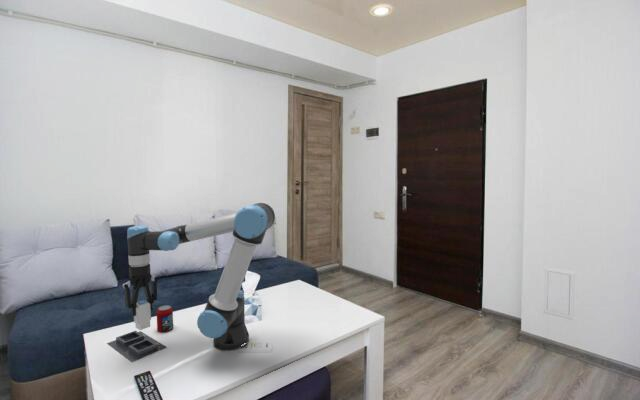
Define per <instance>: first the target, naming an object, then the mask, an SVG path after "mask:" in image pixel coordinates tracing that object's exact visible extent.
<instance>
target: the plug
mask: <svg viewBox="0 0 640 400" xmlns="http://www.w3.org/2000/svg"><path fill="white" fill-rule="evenodd" d="M136 307H138V311H139V324H136V323H134V324H135V328H136V329H137V330H139V331H143V330H145V329H148V328H150V327H151V320H150V310H149V302H147V300H144V299H143V300H139V301H137V305H136Z"/></svg>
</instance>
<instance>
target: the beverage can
mask: <svg viewBox="0 0 640 400" xmlns="http://www.w3.org/2000/svg"><path fill="white" fill-rule="evenodd" d="M173 313H174V311H173V308H172V306H171V305H170V304H169V305H167V304H166V305H161V306H159V307H158V308H157V310H156V327H157V329H156V330H157V331H156V333H159V334H164V333H169V332H172V330H173V331H174V314H173Z"/></svg>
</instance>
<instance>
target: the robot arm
mask: <svg viewBox="0 0 640 400" xmlns="http://www.w3.org/2000/svg"><path fill="white" fill-rule="evenodd" d="M275 220H276V214H275V211H274V209H273V207H272V206H270V204H267V203H264V202H258V203H257V202H256V203H254V204H248V205H245V206H243V207H242V208H241V209H239V210H238V211H237V212H235V213H230V214H225V215H222V216H217V217H213V218H208V219H205V220H201V221H196V222H193V223H188V224H184V225H179V226H176V227H175V226H174V227H172V228H168V229H165V230H159V231H157V230H156V231H155V230H154V231H153V230H152V231H150V230H149V227H148V226H147V225H135V226H134V225H133V226H130V227H128V228H127V229H126V230H127V234H126V235H127V236H126V242H127V249H128V250H127V251H128V256H127V257H128V265H129V267H128V274H129V278H128V281H126V282H125V283H122V284H121V287H122V289H123V293H124V304H125V307H126V308H127V309H130V310H131V311H130V313H131V316H132V317H133V321H134V322H133V323H134V324H135V323H136V324H139V311H138V307H136V305H137V302H138V298H139V291H140V290H141V288H143V291H144V295H145V298H146V299H145V300H146V302H149V310H150V321H151V320H152V312H151V311H153V304H154V302H155V301H157V300H158V280H159V277H158V276H156V275H152V274H151V258H150V257H151V256H150V255H151V254H150V251H162V252H167V251H168V252H169V251H174V250H177V249H178V247H179V245H181V244H185V243H190V242H193V241H199V240H203V239H206V238H211V237H212V238H213V237H216V236H221V235H226V234H229V233H232V236H233V238H234V240H233V243H232V246H231V247H230V248H231V249H230V251H229V254H228V257H227V260H226V262H225V265H224V267H223V271H222V274H221V276H220V278H219V281H218V284H217V287H216V290H215V292H214V293H212V294H211V295H209V297H208V300H207V303H206V304H205V307H204V310H203V311H202V312H200V314H199V316H198V317H197V321H196V325H197V328H198V329H199V332H200V333H201V334H202V335H203V336H205V337H206V338H209V339H212V340H213V341H212V343H213V347H214V348H216V349H218V350H219V351H220V350H222V351H233V350H237V349H240V347H241V345H242V344H244V343H247V342H248V343H249V341H250V335H249V330H248V327H247V325H246V321H245V319H246V318H245V317H246V315H245V292H244V290H242V289H241V288H242V285H243V283H244V280H245V277H246V274H247V271H248V269H249V266H250V264H251V261H252V260H253V256H254V254H255V251H256V248H257V247H259V246H260V245H262V243H263V241H264V238H265V235H266V232H267V231H268V230H269V229H271V228H272V227H273V225H274V223H275ZM149 283H150V285H149ZM131 286H132V293H131V290H130V288H131ZM150 288H151V290H150ZM136 324H135V325H136ZM248 343H247V344H248ZM241 348H242V347H241Z"/></svg>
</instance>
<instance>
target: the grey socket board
mask: <svg viewBox="0 0 640 400" xmlns="http://www.w3.org/2000/svg"><path fill="white" fill-rule="evenodd" d="M106 345H108V346H109V347H110V348H112V349H113V350H115V351H116V352H117V353H118V354H120V355H121V356H122V357H124V358H125V359H127V360H128V361H129V362H130V363H134V362H136V361H139V360H141V359H143V358H144V359H145V357H148V356H151V355H153V354H155V353H158V352H160V351H162V350H165V349H168V347H167V346H166V345H164V344H163V343H161V342H159V341H158V340H156V339H154V338H152V336H149V335H148V334H146V333H145V332H143V331H142V330H139V331H137V330H134V331H130V332H128V333H125V334H124V333H123V335H119V336H117V337H115V340H112V341H110V342H107V343H106Z"/></svg>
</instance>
